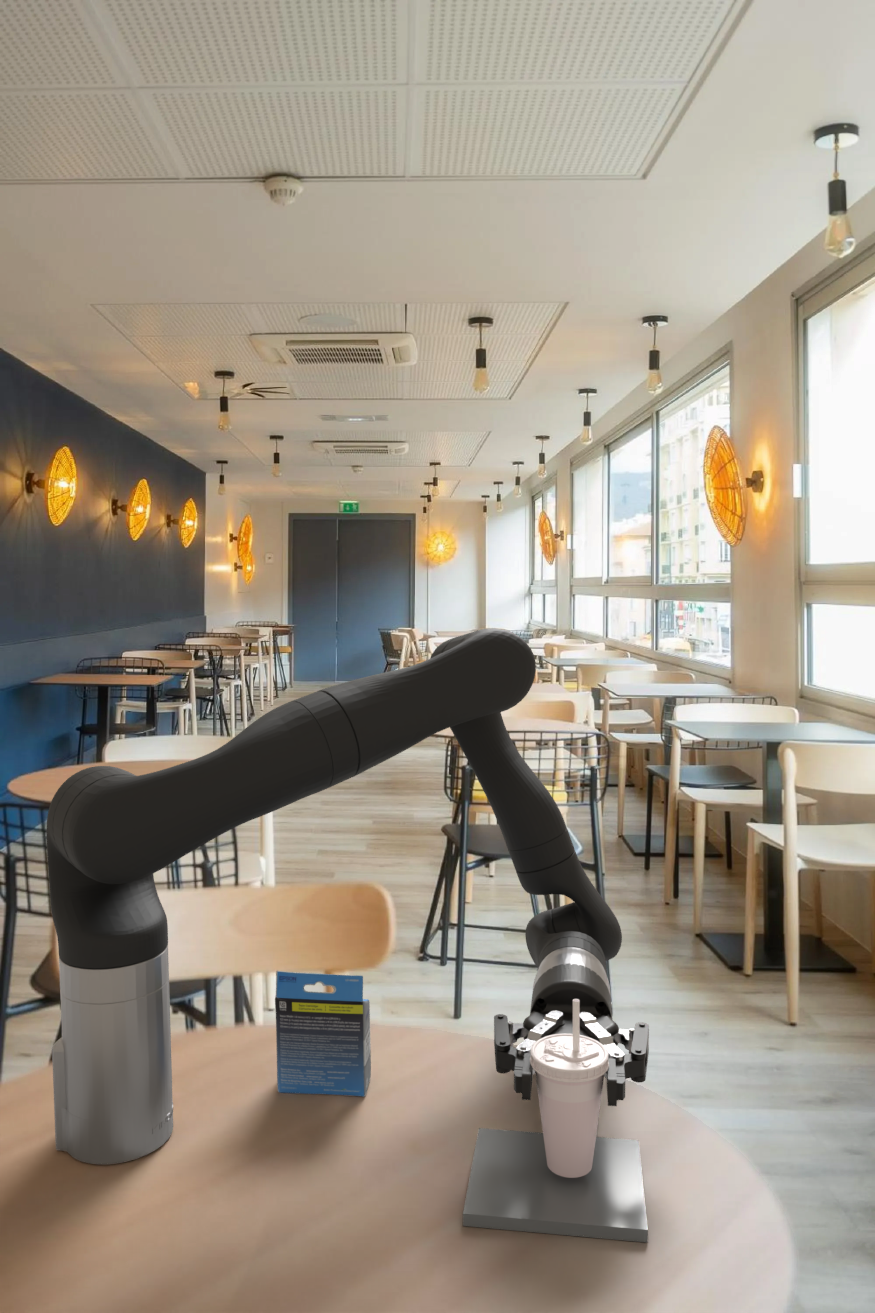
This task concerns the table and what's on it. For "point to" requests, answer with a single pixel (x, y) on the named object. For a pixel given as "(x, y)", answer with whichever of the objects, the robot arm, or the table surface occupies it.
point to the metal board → (555, 1189)
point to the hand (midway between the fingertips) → (569, 1092)
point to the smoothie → (569, 1096)
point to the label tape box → (322, 1035)
